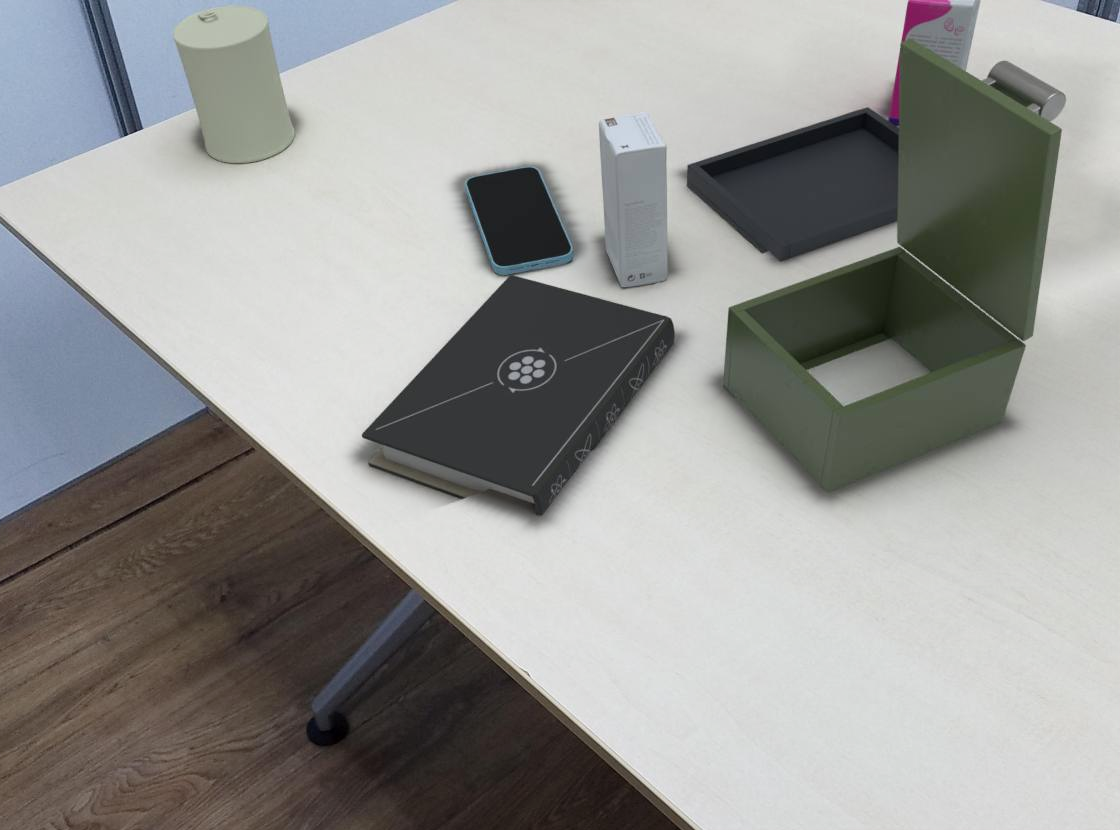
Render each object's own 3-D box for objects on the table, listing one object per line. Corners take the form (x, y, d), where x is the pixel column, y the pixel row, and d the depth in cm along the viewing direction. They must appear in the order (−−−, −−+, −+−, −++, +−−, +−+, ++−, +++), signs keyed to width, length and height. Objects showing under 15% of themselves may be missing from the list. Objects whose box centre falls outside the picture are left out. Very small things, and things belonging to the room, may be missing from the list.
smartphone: (494, 269, 100) (462, 178, 109) (495, 280, 100) (463, 188, 110) (576, 253, 100) (537, 164, 110) (576, 264, 101) (538, 174, 110)
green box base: (825, 504, 80) (840, 417, 74) (721, 393, 88) (728, 307, 82) (998, 433, 83) (1026, 345, 77) (882, 333, 91) (900, 246, 86)
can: (267, 109, 124) (238, -9, 115) (311, 140, 119) (284, 19, 109) (190, 140, 120) (153, 22, 111) (232, 174, 115) (197, 52, 106)
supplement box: (960, 103, 113) (987, -21, 105) (947, 132, 110) (974, 7, 101) (900, 95, 115) (921, -27, 107) (885, 124, 112) (906, 0, 103)
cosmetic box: (669, 281, 98) (673, 145, 89) (617, 290, 98) (615, 155, 89) (650, 242, 102) (652, 108, 93) (600, 250, 102) (597, 117, 93)
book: (542, 528, 81) (539, 497, 78) (367, 465, 86) (360, 434, 84) (675, 349, 92) (676, 318, 90) (513, 304, 98) (510, 273, 95)
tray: (864, 127, 112) (867, 106, 110) (970, 202, 102) (976, 180, 101) (686, 185, 108) (687, 164, 106) (779, 269, 98) (782, 247, 96)
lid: (1050, 134, 65) (1125, 95, 65) (899, 42, 73) (967, 8, 73) (1023, 342, 77) (1086, 307, 77) (896, 243, 85) (954, 212, 86)
